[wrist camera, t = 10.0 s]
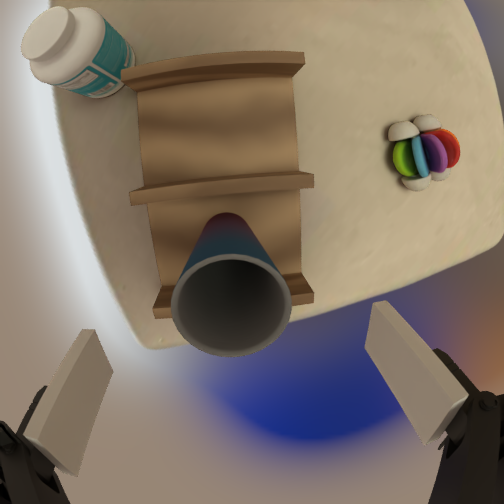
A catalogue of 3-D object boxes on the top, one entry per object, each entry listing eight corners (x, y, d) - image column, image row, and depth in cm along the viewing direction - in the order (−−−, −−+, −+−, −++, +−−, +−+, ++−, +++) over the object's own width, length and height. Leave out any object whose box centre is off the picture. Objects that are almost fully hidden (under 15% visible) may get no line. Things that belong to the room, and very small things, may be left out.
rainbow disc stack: (443, 171, 30) (479, 178, 23) (393, 193, 31) (429, 205, 24) (427, 112, 27) (464, 109, 20) (373, 128, 28) (409, 124, 21)
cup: (270, 244, 30) (311, 322, 16) (217, 276, 31) (216, 372, 17) (237, 191, 28) (252, 228, 14) (181, 226, 28) (146, 295, 14)
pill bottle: (110, 33, 21) (57, -17, 8) (150, 59, 23) (105, 4, 10) (68, 82, 22) (-3, 57, 9) (105, 111, 24) (34, 91, 11)
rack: (139, 84, 24) (121, 69, 18) (288, 70, 25) (303, 52, 19) (165, 291, 32) (155, 318, 26) (299, 278, 33) (313, 303, 27)
